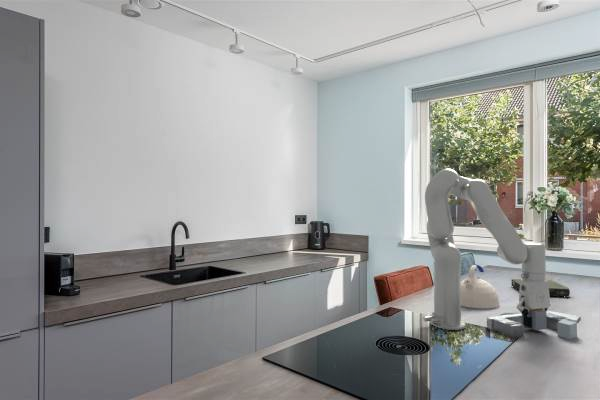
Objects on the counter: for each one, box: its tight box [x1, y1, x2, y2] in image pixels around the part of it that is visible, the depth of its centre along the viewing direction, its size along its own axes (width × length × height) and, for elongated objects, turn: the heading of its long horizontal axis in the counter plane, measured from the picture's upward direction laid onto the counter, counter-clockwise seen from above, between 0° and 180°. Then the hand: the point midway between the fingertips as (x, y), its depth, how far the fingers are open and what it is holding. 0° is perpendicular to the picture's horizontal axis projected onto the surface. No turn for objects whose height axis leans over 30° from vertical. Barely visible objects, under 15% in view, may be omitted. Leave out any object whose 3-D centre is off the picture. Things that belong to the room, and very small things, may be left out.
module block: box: [522, 309, 548, 331], centre depth 142 cm, size 5×6×7 cm
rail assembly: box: [486, 310, 571, 339], centre depth 144 cm, size 28×11×4 cm, turn 107°
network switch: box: [511, 278, 571, 298], centre depth 204 cm, size 23×23×5 cm
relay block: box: [556, 320, 578, 340], centre depth 136 cm, size 5×4×5 cm
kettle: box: [460, 264, 500, 310], centre depth 182 cm, size 20×21×18 cm
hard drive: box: [547, 310, 581, 323], centre depth 159 cm, size 2×8×12 cm
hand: (533, 325), depth 142 cm, fingers closed on module block, 5 cm apart
